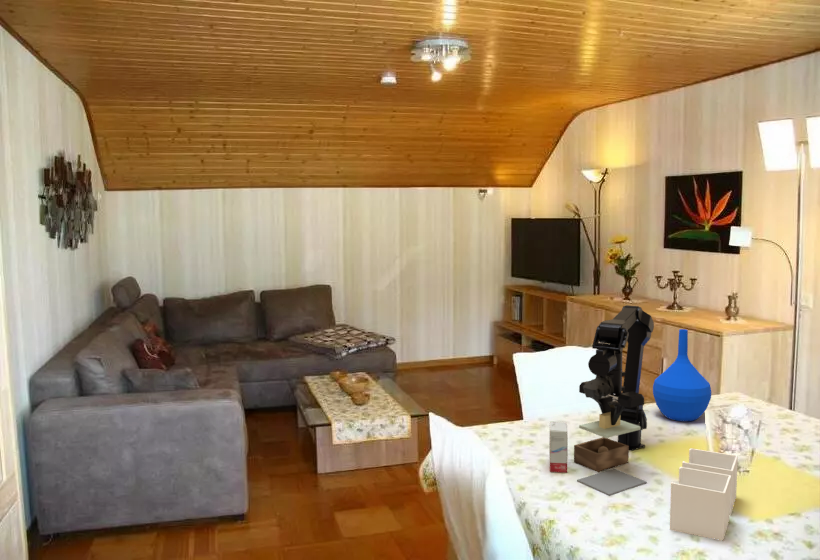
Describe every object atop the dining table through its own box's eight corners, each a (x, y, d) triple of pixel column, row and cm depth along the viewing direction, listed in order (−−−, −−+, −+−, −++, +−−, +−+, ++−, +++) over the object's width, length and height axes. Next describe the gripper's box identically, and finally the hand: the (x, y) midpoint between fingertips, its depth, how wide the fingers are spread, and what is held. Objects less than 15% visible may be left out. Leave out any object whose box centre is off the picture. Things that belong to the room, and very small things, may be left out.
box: (603, 453, 203) (604, 436, 202) (628, 463, 195) (628, 445, 195) (573, 462, 197) (574, 445, 196) (598, 472, 189) (598, 454, 188)
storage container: (723, 541, 151) (724, 493, 149) (669, 530, 156) (671, 483, 155) (736, 498, 172) (737, 455, 171) (688, 489, 177) (690, 448, 176)
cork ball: (602, 454, 200) (603, 444, 200) (611, 457, 198) (611, 447, 198) (595, 456, 199) (595, 446, 199) (603, 459, 196) (603, 449, 196)
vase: (657, 424, 228) (659, 334, 224) (647, 408, 246) (649, 324, 242) (716, 426, 225) (720, 335, 221) (702, 410, 243) (705, 325, 239)
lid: (612, 422, 200) (613, 405, 199) (640, 432, 191) (640, 414, 190) (579, 430, 193) (579, 412, 192) (606, 441, 184) (606, 422, 184)
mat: (613, 469, 191) (613, 468, 191) (646, 483, 181) (646, 481, 181) (576, 481, 183) (576, 479, 183) (609, 495, 174) (609, 494, 174)
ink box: (567, 473, 189) (568, 431, 187) (549, 472, 190) (549, 430, 188) (566, 461, 197) (567, 421, 196) (549, 460, 198) (549, 420, 197)
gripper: (565, 365, 194) (564, 420, 196) (616, 379, 178) (615, 438, 180) (594, 360, 200) (593, 413, 201) (646, 373, 184) (644, 431, 185)
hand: (610, 423), depth 192 cm, fingers closed on lid
